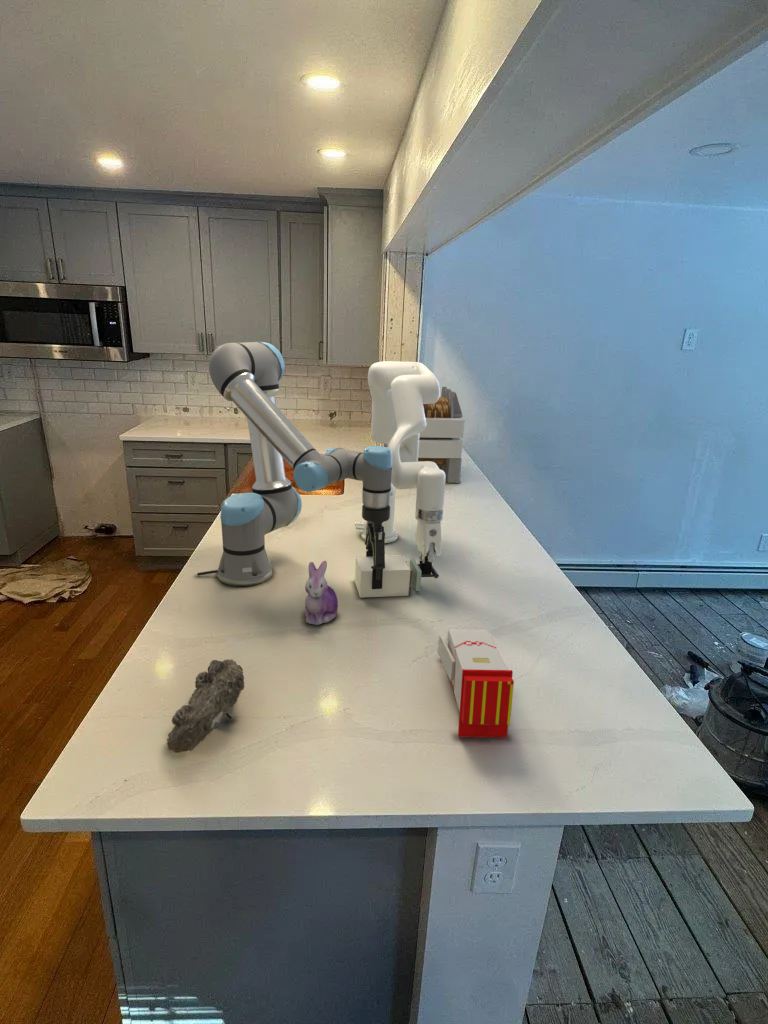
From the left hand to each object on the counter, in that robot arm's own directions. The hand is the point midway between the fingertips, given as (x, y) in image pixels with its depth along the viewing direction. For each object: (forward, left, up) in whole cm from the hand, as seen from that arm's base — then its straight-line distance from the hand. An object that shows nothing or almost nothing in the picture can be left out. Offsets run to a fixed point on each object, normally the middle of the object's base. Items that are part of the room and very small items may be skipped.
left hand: (373, 579), depth 159 cm
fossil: (-22, -58, -3) cm, 62 cm away
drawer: (+8, +3, -2) cm, 9 cm away
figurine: (-11, -18, -3) cm, 21 cm away
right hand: (+14, +4, +1) cm, 15 cm away
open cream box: (+2, +1, -3) cm, 4 cm away
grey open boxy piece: (+3, +124, -3) cm, 124 cm away
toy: (+27, -41, -3) cm, 49 cm away
